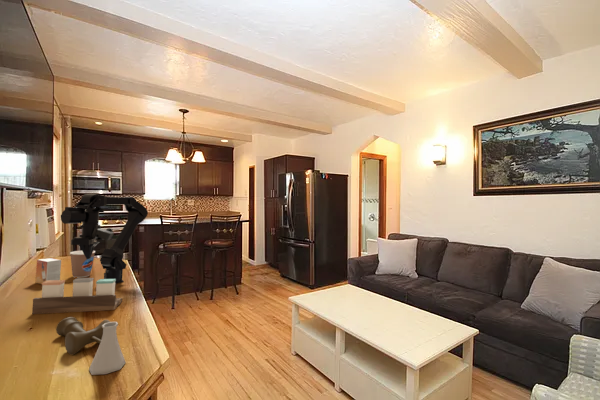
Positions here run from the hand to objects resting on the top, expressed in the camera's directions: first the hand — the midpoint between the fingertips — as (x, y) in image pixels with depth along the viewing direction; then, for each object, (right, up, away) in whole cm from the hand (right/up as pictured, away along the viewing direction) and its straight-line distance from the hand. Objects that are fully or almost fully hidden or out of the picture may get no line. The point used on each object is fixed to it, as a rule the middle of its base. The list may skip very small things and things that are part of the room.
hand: (88, 258), depth 124 cm
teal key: (+21, -12, -20) cm, 31 cm away
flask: (+46, -14, -56) cm, 74 cm away
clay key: (+5, -11, -24) cm, 27 cm away
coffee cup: (-18, -13, +20) cm, 30 cm away
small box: (-23, -12, +6) cm, 27 cm away
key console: (+13, -13, -21) cm, 28 cm away
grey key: (+12, -11, -20) cm, 26 cm away
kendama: (+32, -14, -46) cm, 58 cm away
